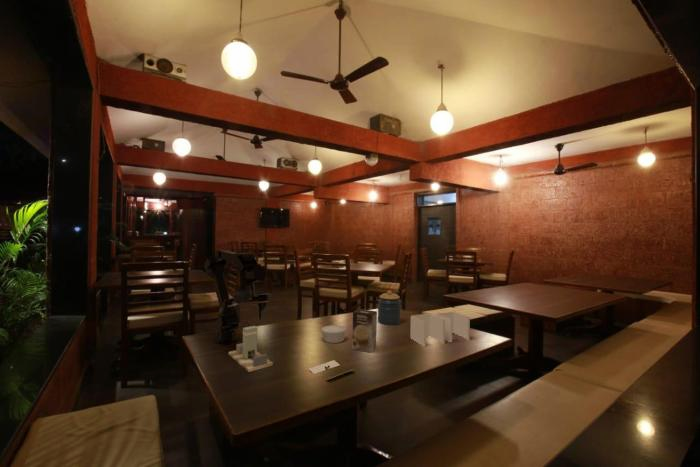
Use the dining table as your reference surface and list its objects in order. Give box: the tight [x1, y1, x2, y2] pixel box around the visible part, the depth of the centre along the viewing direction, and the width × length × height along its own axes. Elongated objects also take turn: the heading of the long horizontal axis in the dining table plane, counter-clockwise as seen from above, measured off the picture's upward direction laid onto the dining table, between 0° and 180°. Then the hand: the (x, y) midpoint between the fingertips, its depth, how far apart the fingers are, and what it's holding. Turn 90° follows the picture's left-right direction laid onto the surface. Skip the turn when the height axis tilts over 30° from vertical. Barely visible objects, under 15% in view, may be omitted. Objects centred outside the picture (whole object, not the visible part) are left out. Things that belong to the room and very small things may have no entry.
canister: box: [377, 290, 402, 326], centre depth 176 cm, size 13×13×18 cm
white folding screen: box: [409, 311, 471, 347], centre depth 148 cm, size 25×11×11 cm, turn 111°
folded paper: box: [308, 359, 355, 381], centre depth 112 cm, size 12×12×2 cm
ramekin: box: [321, 324, 347, 344], centre depth 146 cm, size 11×11×5 cm
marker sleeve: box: [242, 325, 258, 359], centre depth 122 cm, size 3×4×11 cm
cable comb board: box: [228, 349, 274, 373], centre depth 122 cm, size 20×9×1 cm, turn 40°
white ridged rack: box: [235, 342, 268, 367], centre depth 121 cm, size 18×5×3 cm, turn 40°
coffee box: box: [351, 308, 378, 354], centre depth 135 cm, size 9×6×16 cm
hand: (249, 320), depth 130 cm, fingers open, 9 cm apart
